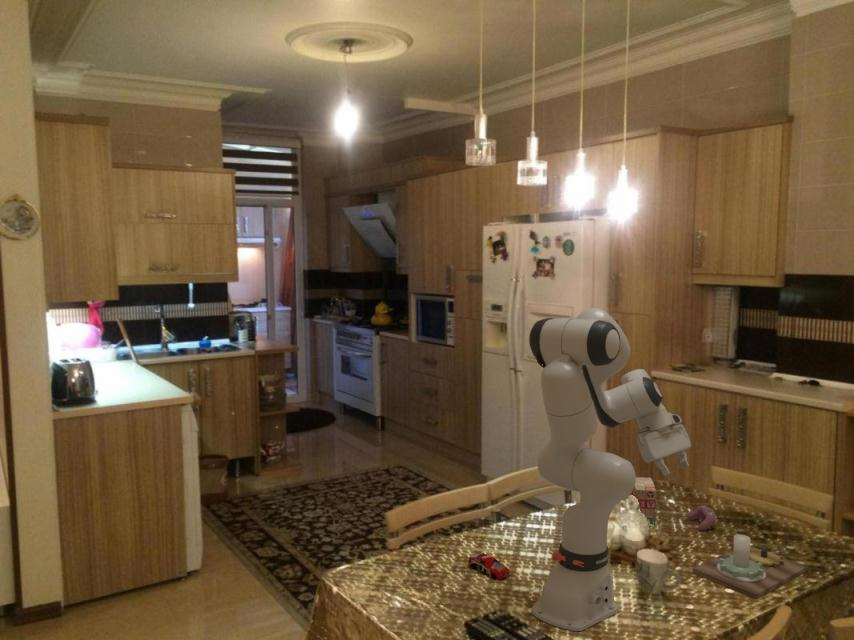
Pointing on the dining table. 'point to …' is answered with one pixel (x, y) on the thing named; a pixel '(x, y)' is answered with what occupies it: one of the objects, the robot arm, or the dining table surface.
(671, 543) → the dining table surface
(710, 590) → the dining table surface
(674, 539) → the dining table surface
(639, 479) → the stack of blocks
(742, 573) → the loose gear
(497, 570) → the race car
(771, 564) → the gear board
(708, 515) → the purple curved piece
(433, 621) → the dining table surface
